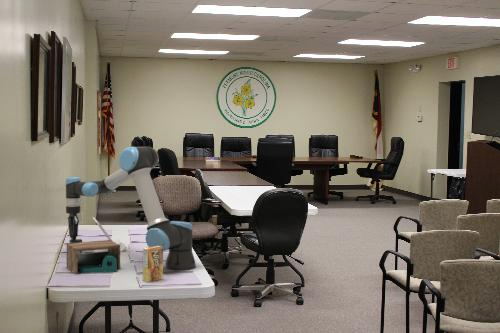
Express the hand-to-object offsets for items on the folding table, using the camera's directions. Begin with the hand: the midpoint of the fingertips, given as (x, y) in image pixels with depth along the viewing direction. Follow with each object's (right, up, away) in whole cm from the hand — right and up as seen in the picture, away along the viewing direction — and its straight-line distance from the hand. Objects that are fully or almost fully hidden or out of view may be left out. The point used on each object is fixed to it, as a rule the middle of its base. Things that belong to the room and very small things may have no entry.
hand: (73, 248), depth 350 cm
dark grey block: (+9, -4, -14) cm, 17 cm away
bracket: (+21, -7, -34) cm, 41 cm away
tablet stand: (+14, -3, +22) cm, 26 cm away
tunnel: (+18, -6, -29) cm, 35 cm away
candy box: (+51, -8, -50) cm, 72 cm away
